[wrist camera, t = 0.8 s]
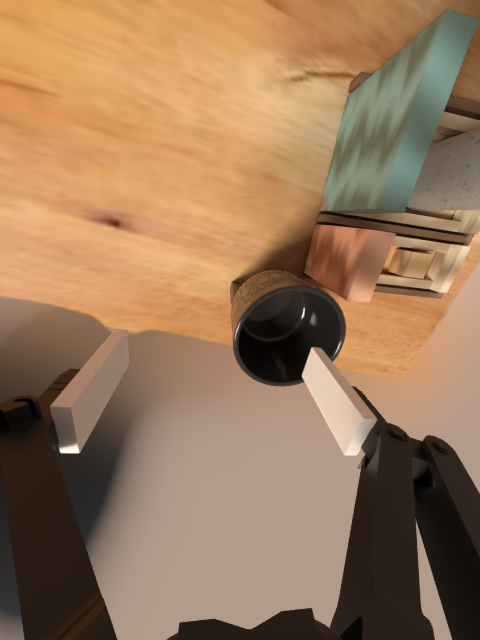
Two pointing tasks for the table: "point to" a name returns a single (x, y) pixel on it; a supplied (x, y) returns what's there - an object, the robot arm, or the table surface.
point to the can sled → (401, 129)
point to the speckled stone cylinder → (449, 175)
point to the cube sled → (374, 261)
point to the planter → (282, 326)
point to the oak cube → (410, 263)
